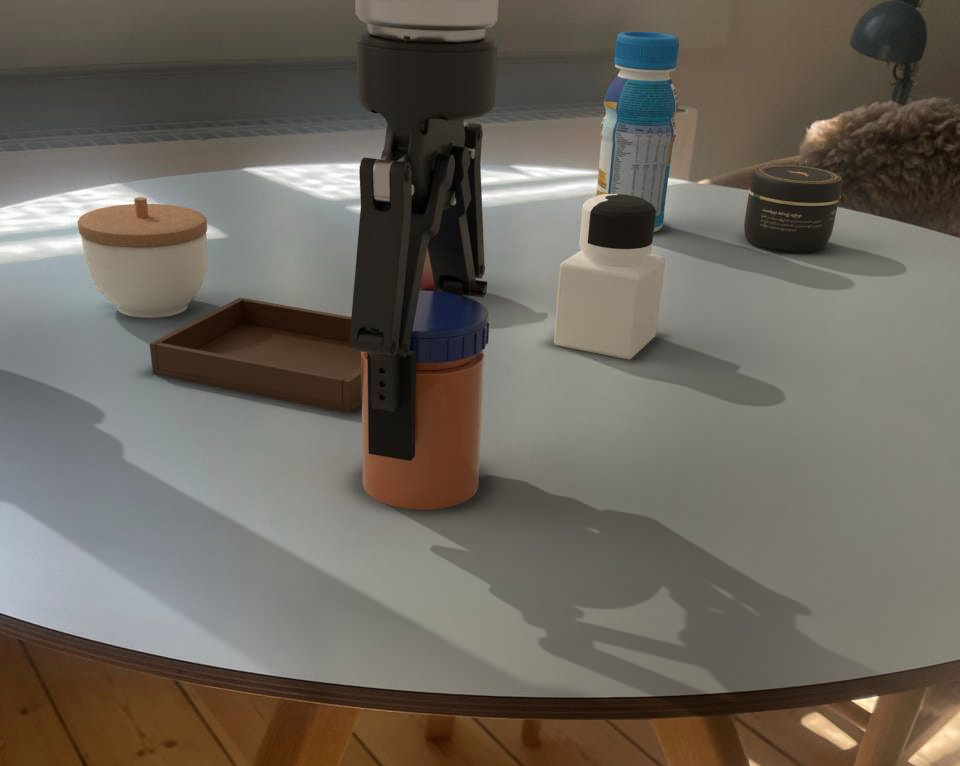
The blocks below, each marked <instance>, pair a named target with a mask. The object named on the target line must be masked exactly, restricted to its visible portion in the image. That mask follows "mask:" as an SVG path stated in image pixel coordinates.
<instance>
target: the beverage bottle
mask: <svg viewBox="0 0 960 766" xmlns="http://www.w3.org/2000/svg"><path fill="white" fill-rule="evenodd" d="M679 41H680V38H679V37H678V36H677V35H674V34H669V33H663V32H656V31H655V32H654V31H623V32H619V33H618V34H617V37H616V41H615V52H614V67H615V68H616V69H618V70H619V72H618V74H617V75H616V76H615V77H614V78H613V80H612V82H611V84H610V85H609V87H608V89H607V91H606V94H605V97H604V99H603V106H604V108H605V115H604V117H603V118H602V120H601V122H600V127H599V136H600V138H601V139H600V149H599V162H598V173H597V183H596V184H597V187H596V195H595V196H598V195H603V194H624V195H631V196H636V197H640V198H642V199H644V200H646V201H648V202H649V203H651V204H652V205H653V206H654V208H655V209H656V217H655V225H654V233H657V232H658V231H660V230H661V229H662V228H663V226H664V222H665V221H664V220H665V207H666V200H667V199H666V198H667V191H668V185H669V177H670V170H671V161H672V153H673V147H674V142H675V139H676V136H677V125H676V123H675V115H676V113H677V112H678V111H679V99H678V94H677V91H676V87H675V84H674V83H673V80H672V79H671V76H670V73H672V72H674V71H676V68H677V66H678V65H677V64H678V57H679V48H680V42H679Z"/></svg>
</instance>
